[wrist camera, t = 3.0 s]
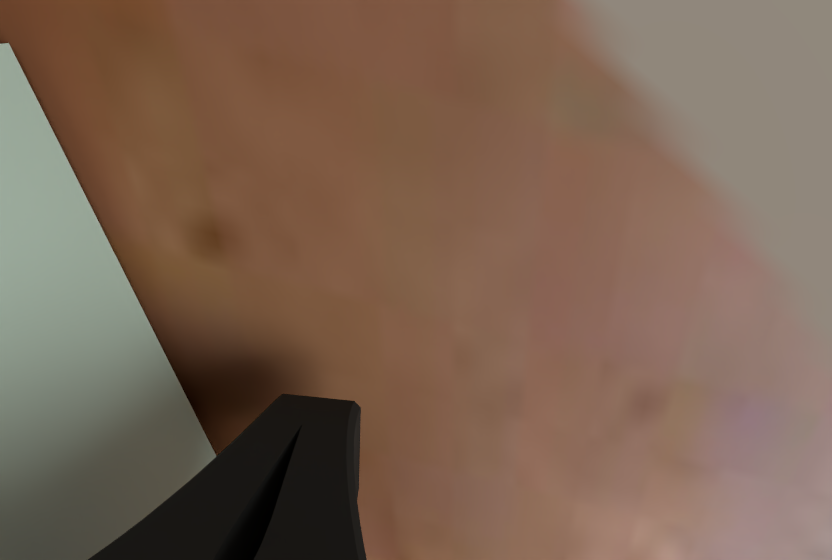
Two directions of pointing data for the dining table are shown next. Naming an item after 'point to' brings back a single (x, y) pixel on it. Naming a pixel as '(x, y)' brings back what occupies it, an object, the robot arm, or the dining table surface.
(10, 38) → the dining table surface
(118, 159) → the dining table surface
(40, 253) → the cabinet door
